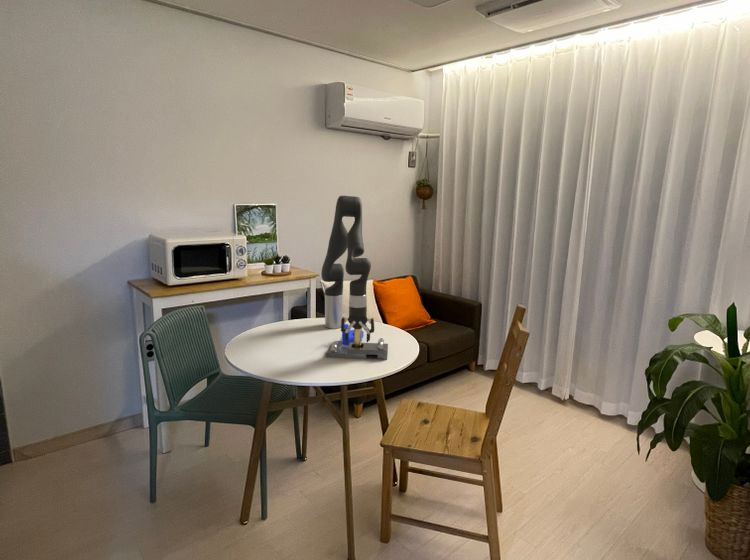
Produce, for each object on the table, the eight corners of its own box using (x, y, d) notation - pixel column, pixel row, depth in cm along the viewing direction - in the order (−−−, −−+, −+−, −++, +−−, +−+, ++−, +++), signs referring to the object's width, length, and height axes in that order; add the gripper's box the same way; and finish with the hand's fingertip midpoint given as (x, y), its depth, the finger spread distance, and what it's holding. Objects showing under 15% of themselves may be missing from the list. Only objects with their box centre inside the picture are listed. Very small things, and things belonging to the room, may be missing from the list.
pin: (354, 353, 193) (354, 327, 190) (361, 353, 192) (361, 327, 190) (353, 355, 190) (353, 329, 187) (360, 356, 190) (360, 329, 187)
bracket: (359, 345, 203) (360, 327, 202) (342, 345, 204) (342, 326, 202) (364, 334, 221) (364, 316, 219) (348, 333, 222) (348, 315, 220)
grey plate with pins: (329, 350, 196) (329, 336, 195) (387, 352, 195) (388, 338, 194) (325, 357, 188) (325, 342, 186) (387, 359, 186) (387, 345, 185)
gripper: (375, 303, 190) (374, 339, 193) (342, 302, 191) (342, 338, 194) (373, 307, 183) (373, 344, 186) (339, 306, 184) (339, 343, 187)
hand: (357, 341), depth 190 cm, fingers open, 8 cm apart
